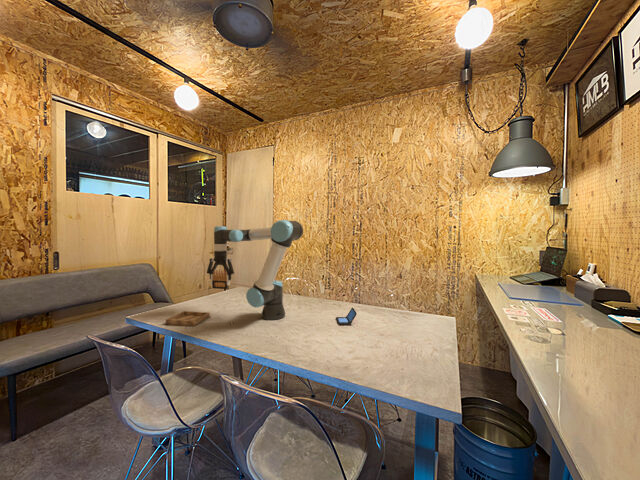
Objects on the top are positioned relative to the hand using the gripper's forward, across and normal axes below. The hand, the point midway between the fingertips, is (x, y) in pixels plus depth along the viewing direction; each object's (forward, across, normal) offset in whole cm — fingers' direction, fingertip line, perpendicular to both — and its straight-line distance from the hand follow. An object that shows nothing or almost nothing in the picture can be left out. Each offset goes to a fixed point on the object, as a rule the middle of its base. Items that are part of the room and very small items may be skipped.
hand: (220, 284), depth 166 cm
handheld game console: (+20, -81, -2) cm, 83 cm away
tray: (+20, +14, +13) cm, 27 cm away
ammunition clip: (+3, 0, 0) cm, 3 cm away
